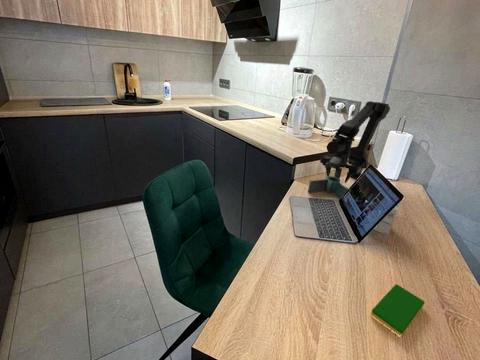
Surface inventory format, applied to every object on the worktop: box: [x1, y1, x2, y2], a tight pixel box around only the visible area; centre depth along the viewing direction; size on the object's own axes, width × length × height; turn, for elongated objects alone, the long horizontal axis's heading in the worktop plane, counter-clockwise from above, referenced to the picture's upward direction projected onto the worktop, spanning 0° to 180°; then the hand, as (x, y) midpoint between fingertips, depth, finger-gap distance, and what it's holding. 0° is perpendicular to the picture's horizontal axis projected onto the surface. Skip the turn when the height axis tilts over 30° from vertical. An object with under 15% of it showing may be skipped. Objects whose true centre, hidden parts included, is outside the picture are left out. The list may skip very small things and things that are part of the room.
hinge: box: [307, 175, 350, 199], centre depth 119 cm, size 14×17×6 cm
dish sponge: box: [370, 284, 425, 337], centre depth 65 cm, size 7×14×2 cm, turn 129°
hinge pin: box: [333, 167, 343, 180], centre depth 130 cm, size 3×3×8 cm
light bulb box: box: [364, 199, 399, 236], centre depth 96 cm, size 11×7×11 cm, turn 58°
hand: (336, 179), depth 131 cm, fingers open, 9 cm apart
